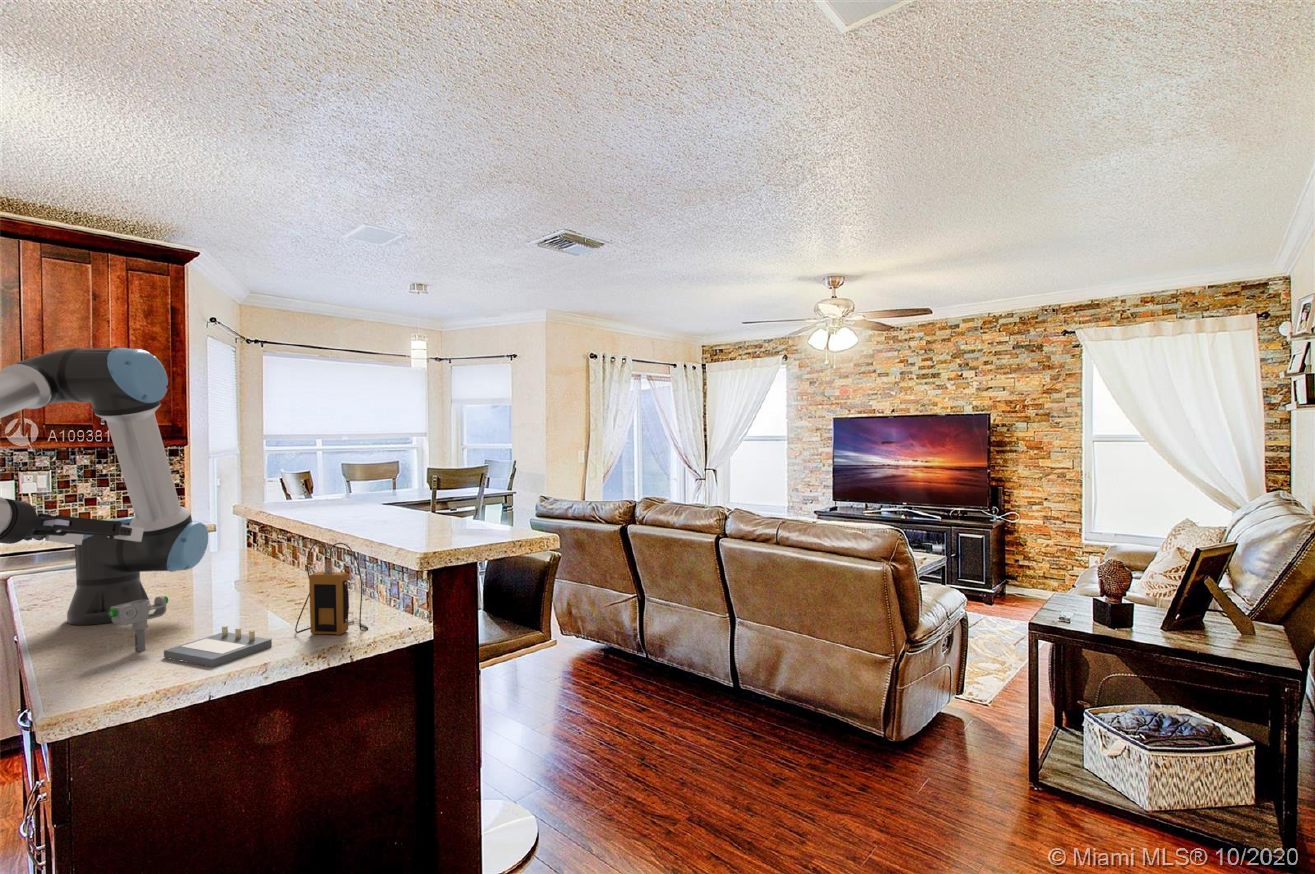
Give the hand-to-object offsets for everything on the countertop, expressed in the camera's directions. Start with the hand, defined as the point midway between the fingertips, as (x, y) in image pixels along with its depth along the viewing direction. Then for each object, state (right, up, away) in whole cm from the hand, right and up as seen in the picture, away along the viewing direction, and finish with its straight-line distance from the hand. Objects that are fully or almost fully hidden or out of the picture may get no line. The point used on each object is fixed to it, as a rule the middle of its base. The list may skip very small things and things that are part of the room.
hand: (111, 536), depth 131 cm
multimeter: (+40, -23, +13) cm, 48 cm away
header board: (+23, -23, -2) cm, 33 cm away
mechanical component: (+6, -23, 0) cm, 24 cm away
